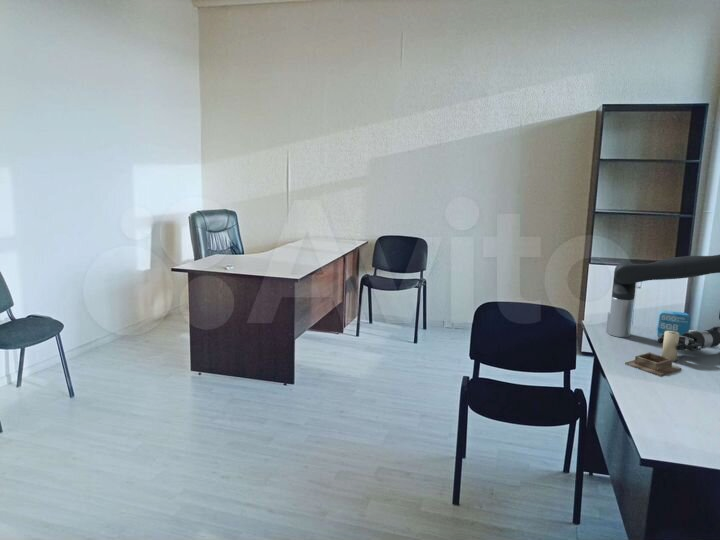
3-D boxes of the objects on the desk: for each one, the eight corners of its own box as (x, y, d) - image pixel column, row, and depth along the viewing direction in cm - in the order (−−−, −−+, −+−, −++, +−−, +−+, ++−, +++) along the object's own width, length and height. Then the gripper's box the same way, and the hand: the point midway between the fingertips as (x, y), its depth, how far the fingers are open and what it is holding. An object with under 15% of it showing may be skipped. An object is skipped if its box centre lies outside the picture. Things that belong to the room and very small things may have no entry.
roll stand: (624, 364, 218) (625, 355, 217) (646, 358, 225) (647, 349, 224) (659, 376, 206) (660, 367, 205) (681, 369, 213) (682, 360, 212)
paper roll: (658, 358, 225) (661, 331, 223) (666, 356, 227) (669, 329, 225) (671, 362, 220) (674, 335, 218) (679, 359, 223) (682, 333, 221)
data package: (656, 338, 250) (660, 312, 248) (655, 335, 255) (659, 309, 252) (687, 342, 246) (691, 315, 243) (686, 339, 250) (689, 313, 247)
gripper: (682, 326, 233) (653, 329, 228) (714, 336, 220) (684, 340, 215) (680, 343, 235) (651, 347, 229) (711, 354, 222) (681, 359, 216)
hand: (667, 344), depth 222 cm, fingers open, 8 cm apart
